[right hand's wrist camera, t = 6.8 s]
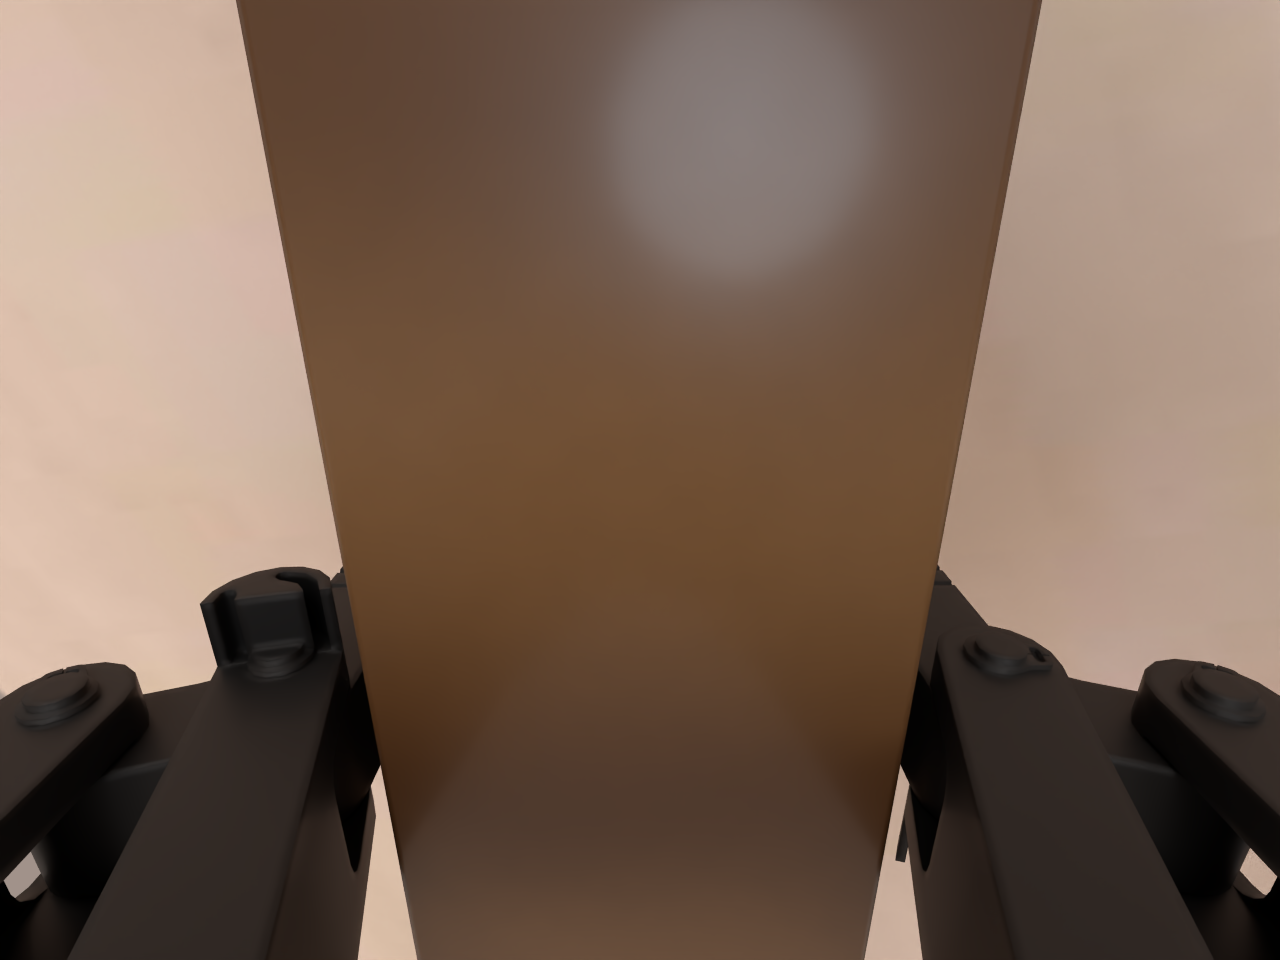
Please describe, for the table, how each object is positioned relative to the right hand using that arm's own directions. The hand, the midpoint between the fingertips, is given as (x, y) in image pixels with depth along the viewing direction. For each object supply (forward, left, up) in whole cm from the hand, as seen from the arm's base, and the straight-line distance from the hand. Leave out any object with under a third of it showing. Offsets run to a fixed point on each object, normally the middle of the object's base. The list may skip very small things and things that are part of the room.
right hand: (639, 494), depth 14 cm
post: (+31, 0, -1) cm, 31 cm away
